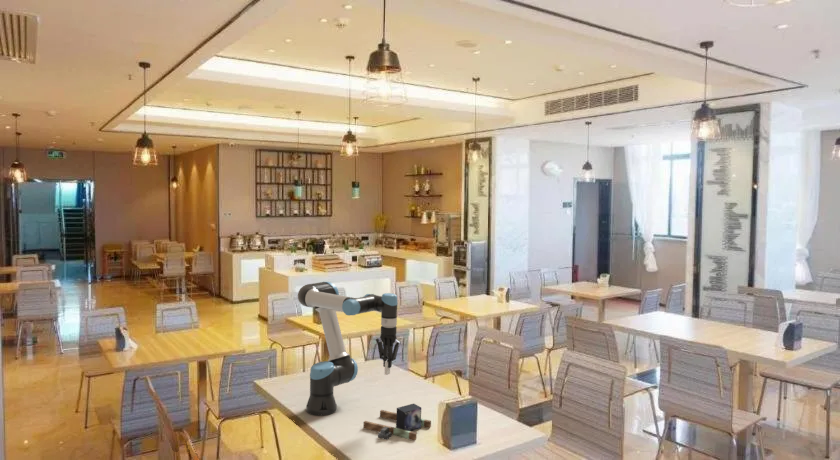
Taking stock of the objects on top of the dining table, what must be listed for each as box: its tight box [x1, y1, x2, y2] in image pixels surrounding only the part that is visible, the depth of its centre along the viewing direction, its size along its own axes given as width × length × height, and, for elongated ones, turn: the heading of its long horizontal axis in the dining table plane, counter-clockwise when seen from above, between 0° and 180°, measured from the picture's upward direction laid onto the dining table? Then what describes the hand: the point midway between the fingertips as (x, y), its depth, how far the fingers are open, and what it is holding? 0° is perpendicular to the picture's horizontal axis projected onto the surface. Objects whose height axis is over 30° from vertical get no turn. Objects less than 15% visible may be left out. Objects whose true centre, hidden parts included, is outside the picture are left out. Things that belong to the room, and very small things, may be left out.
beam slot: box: [362, 409, 432, 441], centre depth 273 cm, size 27×17×3 cm, turn 64°
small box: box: [395, 403, 422, 432], centre depth 271 cm, size 11×6×10 cm, turn 130°
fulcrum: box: [377, 425, 393, 440], centre depth 262 cm, size 5×4×4 cm
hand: (387, 373), depth 280 cm, fingers closed
